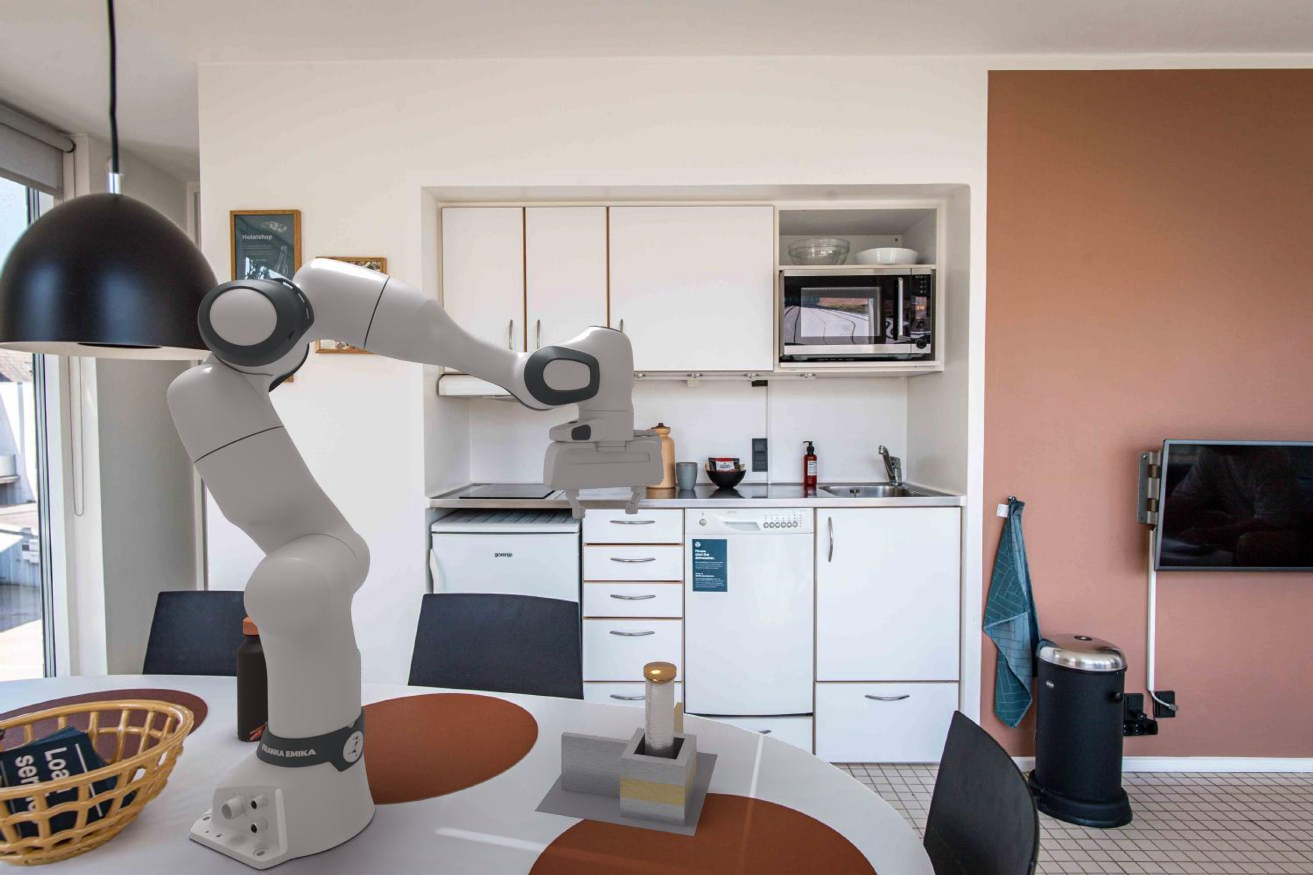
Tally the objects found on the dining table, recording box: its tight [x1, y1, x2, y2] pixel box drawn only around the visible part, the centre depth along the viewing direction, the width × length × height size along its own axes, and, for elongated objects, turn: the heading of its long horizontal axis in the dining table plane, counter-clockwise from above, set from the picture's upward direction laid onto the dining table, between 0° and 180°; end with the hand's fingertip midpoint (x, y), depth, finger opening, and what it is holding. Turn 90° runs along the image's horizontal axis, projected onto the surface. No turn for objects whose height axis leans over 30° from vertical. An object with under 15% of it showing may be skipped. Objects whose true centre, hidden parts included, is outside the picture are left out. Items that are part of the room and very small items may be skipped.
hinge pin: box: [642, 661, 678, 759], centre depth 90 cm, size 5×5×19 cm
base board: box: [534, 751, 718, 837], centre depth 96 cm, size 22×21×1 cm
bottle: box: [236, 616, 268, 742], centre depth 112 cm, size 7×7×20 cm
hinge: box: [560, 701, 697, 826], centre depth 96 cm, size 19×19×8 cm
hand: (605, 516), depth 104 cm, fingers open, 8 cm apart
